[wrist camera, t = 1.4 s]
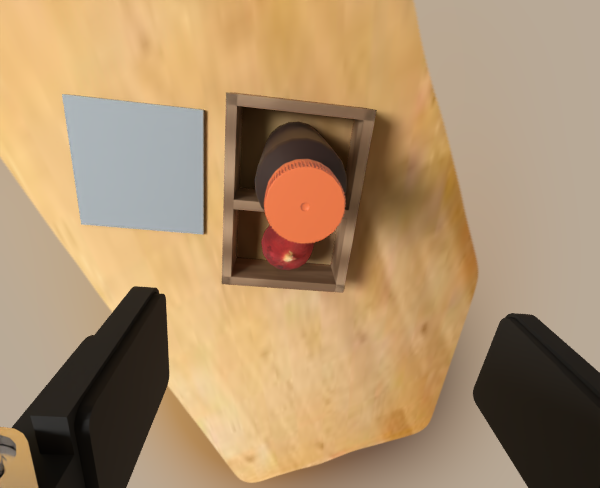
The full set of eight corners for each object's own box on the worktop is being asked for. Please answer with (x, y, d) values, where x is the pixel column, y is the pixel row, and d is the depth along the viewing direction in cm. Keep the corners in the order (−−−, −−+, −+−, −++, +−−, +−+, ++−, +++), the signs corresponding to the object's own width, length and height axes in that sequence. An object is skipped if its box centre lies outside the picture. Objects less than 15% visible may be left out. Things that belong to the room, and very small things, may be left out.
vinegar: (252, 141, 38) (224, 185, 20) (307, 109, 37) (329, 124, 19) (284, 193, 41) (284, 276, 22) (335, 164, 40) (380, 226, 21)
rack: (233, 92, 36) (226, 92, 32) (365, 108, 37) (376, 110, 33) (228, 264, 44) (221, 283, 39) (337, 272, 45) (343, 292, 41)
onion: (292, 261, 44) (294, 295, 37) (254, 237, 43) (248, 267, 35) (320, 226, 43) (327, 254, 35) (280, 200, 41) (280, 223, 34)
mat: (65, 94, 36) (62, 94, 35) (204, 109, 37) (203, 110, 36) (83, 222, 41) (81, 224, 41) (204, 232, 42) (203, 234, 42)
